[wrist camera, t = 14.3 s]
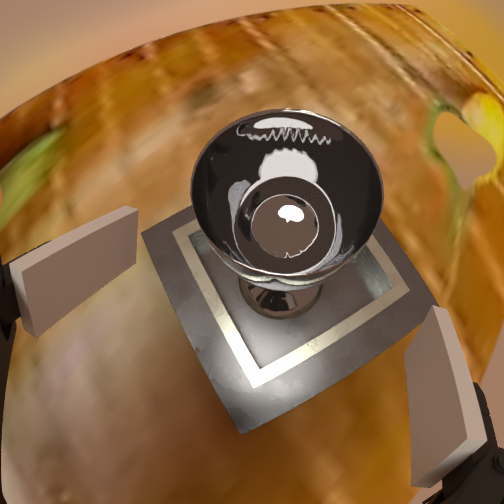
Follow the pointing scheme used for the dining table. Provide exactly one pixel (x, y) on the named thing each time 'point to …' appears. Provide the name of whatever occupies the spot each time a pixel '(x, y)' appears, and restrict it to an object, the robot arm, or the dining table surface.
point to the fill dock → (284, 331)
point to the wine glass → (286, 205)
